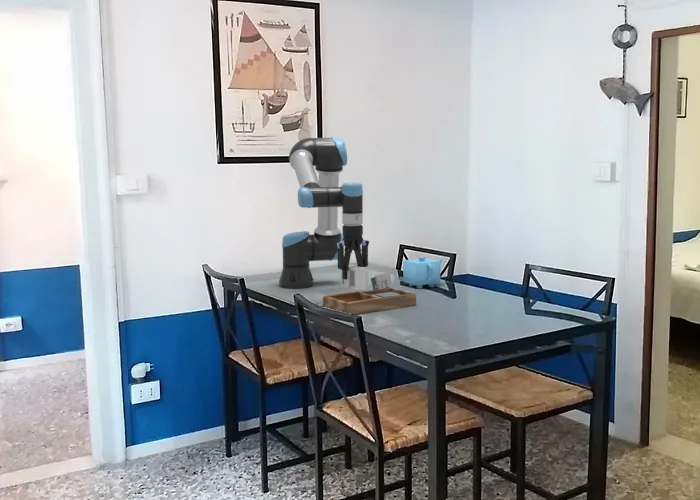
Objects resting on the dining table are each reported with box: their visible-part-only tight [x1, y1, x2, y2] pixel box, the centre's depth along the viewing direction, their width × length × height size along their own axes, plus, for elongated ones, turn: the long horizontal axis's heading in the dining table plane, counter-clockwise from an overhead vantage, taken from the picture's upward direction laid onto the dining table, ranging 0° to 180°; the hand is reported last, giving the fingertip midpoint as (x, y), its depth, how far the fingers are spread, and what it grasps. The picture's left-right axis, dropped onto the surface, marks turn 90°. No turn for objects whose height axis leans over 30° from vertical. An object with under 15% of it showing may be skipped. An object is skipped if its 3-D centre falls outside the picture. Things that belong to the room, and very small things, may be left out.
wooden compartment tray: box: [322, 287, 417, 316], centre depth 289 cm, size 16×32×5 cm, turn 124°
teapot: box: [402, 255, 446, 289], centre depth 331 cm, size 18×16×13 cm
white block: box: [340, 264, 367, 291], centre depth 283 cm, size 10×5×8 cm, turn 35°
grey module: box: [372, 292, 401, 298], centre depth 292 cm, size 9×10×4 cm
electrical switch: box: [370, 271, 394, 290], centre depth 311 cm, size 9×5×9 cm, turn 141°
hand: (353, 286), depth 284 cm, fingers closed on white block, 5 cm apart
